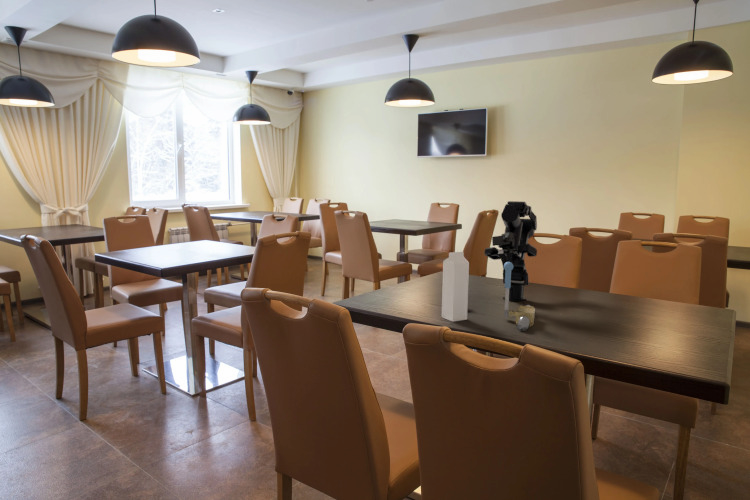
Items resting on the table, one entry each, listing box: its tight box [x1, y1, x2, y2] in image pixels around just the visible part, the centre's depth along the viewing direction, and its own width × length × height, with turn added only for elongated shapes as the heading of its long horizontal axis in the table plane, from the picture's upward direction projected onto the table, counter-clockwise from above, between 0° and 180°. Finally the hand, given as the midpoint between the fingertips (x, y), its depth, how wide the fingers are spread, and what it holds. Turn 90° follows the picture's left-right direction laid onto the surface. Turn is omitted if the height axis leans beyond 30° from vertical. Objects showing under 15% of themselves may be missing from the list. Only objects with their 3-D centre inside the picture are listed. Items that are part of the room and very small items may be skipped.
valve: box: [508, 304, 536, 332], centre depth 160 cm, size 22×8×4 cm, turn 159°
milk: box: [441, 251, 470, 322], centre depth 162 cm, size 6×6×22 cm
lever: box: [503, 262, 513, 318], centre depth 161 cm, size 3×3×18 cm
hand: (506, 274), depth 175 cm, fingers closed
